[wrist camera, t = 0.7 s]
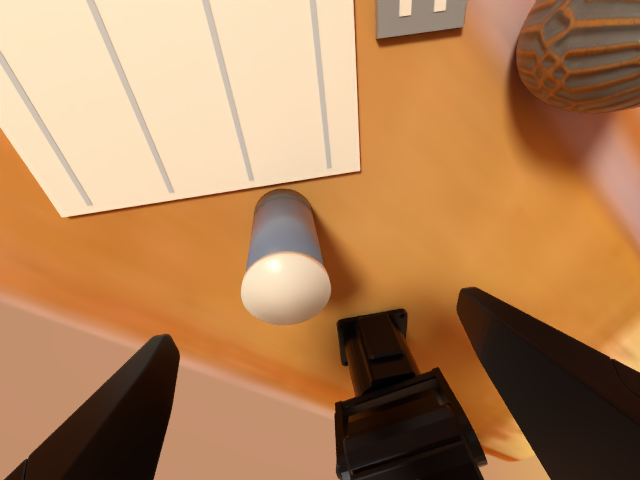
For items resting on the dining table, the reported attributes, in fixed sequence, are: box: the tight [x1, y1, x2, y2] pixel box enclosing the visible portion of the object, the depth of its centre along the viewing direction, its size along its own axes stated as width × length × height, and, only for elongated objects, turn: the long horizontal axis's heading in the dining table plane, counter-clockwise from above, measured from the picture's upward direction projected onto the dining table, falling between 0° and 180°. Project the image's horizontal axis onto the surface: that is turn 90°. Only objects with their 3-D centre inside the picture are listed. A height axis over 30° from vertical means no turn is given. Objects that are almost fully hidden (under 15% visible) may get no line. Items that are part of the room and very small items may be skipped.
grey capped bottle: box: [241, 189, 331, 325], centre depth 17 cm, size 4×4×8 cm
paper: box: [0, 0, 360, 217], centre depth 15 cm, size 13×19×1 cm
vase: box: [516, 0, 640, 113], centre depth 13 cm, size 7×7×9 cm
